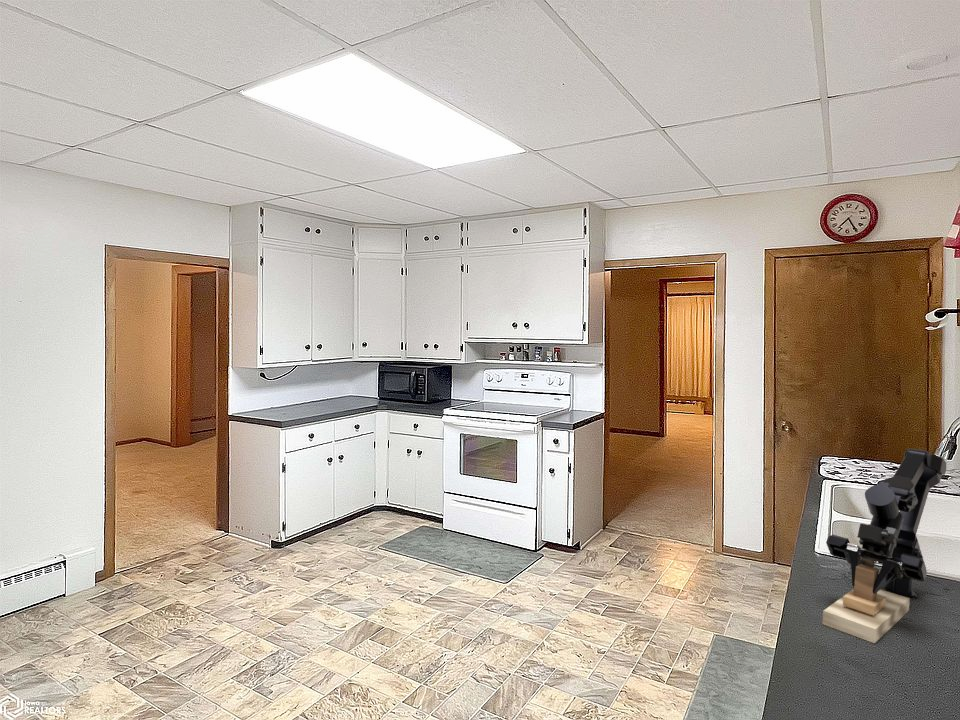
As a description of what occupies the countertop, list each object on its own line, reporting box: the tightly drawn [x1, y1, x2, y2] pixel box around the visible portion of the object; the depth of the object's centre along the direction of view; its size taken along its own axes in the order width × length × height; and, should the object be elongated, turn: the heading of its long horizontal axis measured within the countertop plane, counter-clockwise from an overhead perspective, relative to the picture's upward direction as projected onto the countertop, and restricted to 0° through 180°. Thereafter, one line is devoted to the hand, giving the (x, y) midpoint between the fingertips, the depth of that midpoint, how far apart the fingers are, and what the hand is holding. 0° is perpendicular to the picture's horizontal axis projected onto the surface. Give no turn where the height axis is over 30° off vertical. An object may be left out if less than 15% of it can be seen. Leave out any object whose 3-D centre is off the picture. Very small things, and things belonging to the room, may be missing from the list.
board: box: [821, 589, 911, 644], centre depth 137 cm, size 24×10×3 cm, turn 131°
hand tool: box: [860, 557, 875, 567], centre depth 169 cm, size 19×4×5 cm, turn 136°
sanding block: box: [842, 564, 886, 616], centre depth 135 cm, size 8×6×8 cm
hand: (863, 589), depth 134 cm, fingers closed on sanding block, 4 cm apart
